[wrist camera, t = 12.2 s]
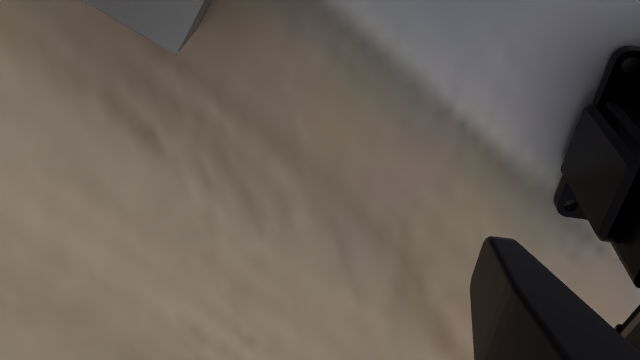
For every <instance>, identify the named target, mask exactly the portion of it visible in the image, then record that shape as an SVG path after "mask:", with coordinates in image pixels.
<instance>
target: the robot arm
mask: <svg viewBox="0 0 640 360" xmlns="http://www.w3.org/2000/svg"><path fill="white" fill-rule="evenodd" d="M628 58H634V59H633V63H632V64H631V65H630V66H629V67H627V68H621V66H622V63H623V62H624V60H626V59H628ZM561 172H562V173H563V178H562V180H561V183H560V185H559V188H558V190H557V193H556V196H555V198H554V204H555V207H556V209H557V211H558V213H560V214H561V215H562V216H565V217H572V218H579V219H587V220H588V221H589V223H590V225H591V226H592V228H593V230H594V232H595V234H596V235H597V237H598V238H599V239H600V240H601V241H604V242H610V243H611V244H612V246H613V248H614V250H615V251H616V253H617V255H618V257H619V258H620V260H621V262H622V264H623V265H624V267H625V269H626V271H627V272H628V274H629V276H630V278H631V280H632V281H633V283H634V285H635V286H636V287H638V288H640V47H635V46H625V47H622V48H620V49H618V50H617V51H616V52H614V53H613V55H612V56H611V58H610V60H609V62H608V65H607V67H606V70H605V72H604V75H603V77H602V80H601V83H600V85H599V88H598V90H597V93H596V95H595V98H594V100H593V103H592V104H590V105H589V106H588V107H586V108H585V109H584V110H583V113H582V115H581V118H580V121H579V123H578V126H577V128H576V131H575V133H574V136H573V138H572V141H571V143H570V146H569V149H568V151H567V154H566V156H565V159H564V161H563V164H562V166H561ZM569 200H574V202H573V203H572V204H570V205H564V204H565V203H566V202H567V201H569ZM470 299H471V315H472V330H473V346H474V360H640V305H639V306H638V307H637V308H636V310H635V311H634V312H633V313H632V314H631V315H630V316H629V318H628V319H627V320H626V321H625V322H624V323H623V324H622V325H621V324H618V325H617V326H616V327H615V328H613V327H612V326H610V325H609V324H608V323H607V322H606V321H605V320H604V319H603V318H602V317H600V316H599V315H598V314H597V313H596V312H595V311H594V310H593V309H591V308H590V307H589V306H588V305H587V304H586V303H585V302H584V301H583V300H581V299H580V298H579V297H578V296H577V295H576V294H575V293H574V292H573V291H571V290H570V289H569V288H568V287H567V286H566V285H565V284H564V283H563V282H561V281H560V280H559V279H558V278H557V277H556V276H555V275H554V274H553V273H551V272H550V271H549V270H548V269H547V268H546V267H545V266H544V265H543V264H541V263H540V262H539V261H538V260H537V259H536V258H535V257H534V256H533V255H531V254H530V253H529V252H528V251H527V250H526V249H525V248H524V247H523V246H521V245H520V244H519V243H518V242H517V241H516V240H514V239H510V238H502V237H494V236H489V237H488V238H486V239H485V241H484V242H483V245H482V248H481V251H480V254H479V257H478V260H477V263H476V266H475V269H474V272H473V275H472V278H471V284H470Z"/></svg>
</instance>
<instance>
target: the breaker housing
mask: <svg viewBox="0 0 640 360" xmlns="http://www.w3.org/2000/svg"><path fill="white" fill-rule="evenodd" d="M82 1H84V2H86V3H87V4H89V5H91V6H93V7H94V8H96V9H98V10H100V11H101V12H103V13H105V14H106V15H108V16H110V17H112V18H113V19H115V20H117V21H118V22H120V23H122V24H124V25H125V26H127V27H129V28H131V29H132V30H134V31H136V32H137V33H139V34H141V35H143V36H144V37H146V38H148V39H149V40H151V41H153V42H155V43H156V44H158V45H160V46H162V47H163V48H165V49H167V50H168V51H170V52H172V53H174V54H175V55H177V54H178V52H179V51H180V50H181V49H182V47H183V46H184V45H185V43H186V42H187V41H188V39H189V38H190V37H191V36H192V34H193V33H194V32H195V30H196V29H197V27H198V25H199V23H200V21H201V19H202V18H203V16H204V14H205V12H206V10H207V8H208V6H209V4H210V2H211V0H82Z"/></svg>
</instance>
